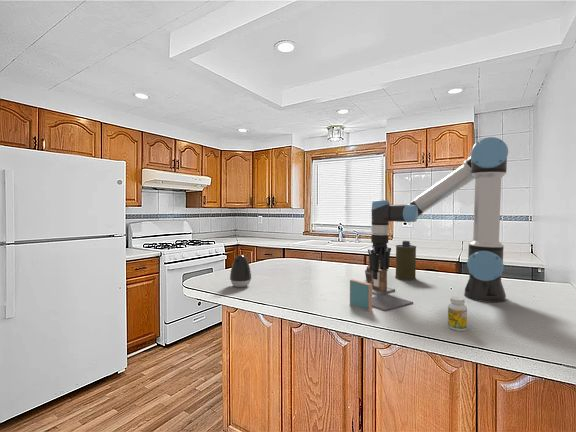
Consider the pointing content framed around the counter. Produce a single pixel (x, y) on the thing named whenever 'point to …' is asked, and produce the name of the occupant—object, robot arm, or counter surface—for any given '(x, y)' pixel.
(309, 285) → the counter surface
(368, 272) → the cupcake
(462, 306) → the supplement bottle
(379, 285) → the wooden block on base
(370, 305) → the tile
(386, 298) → the mat
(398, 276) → the canister
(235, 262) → the black grey egg shape
